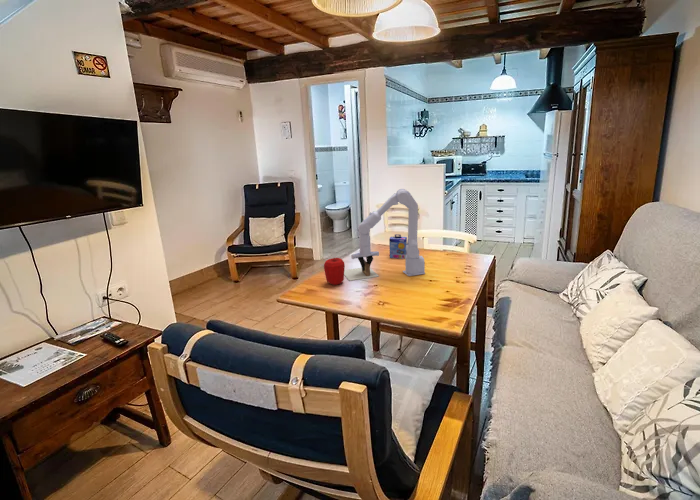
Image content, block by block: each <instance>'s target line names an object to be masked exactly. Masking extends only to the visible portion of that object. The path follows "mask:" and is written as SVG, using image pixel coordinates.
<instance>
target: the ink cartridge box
mask: <svg viewBox="0 0 700 500" xmlns="http://www.w3.org/2000/svg"><path fill="white" fill-rule="evenodd" d="M407 242H408V236H402V235H401V234H394V236H390V237H389V245H388V246H389V259H401V260H403V259H405V256H406V255H407V251H406V245H407Z"/></svg>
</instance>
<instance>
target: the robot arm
mask: <svg viewBox="0 0 700 500" xmlns="http://www.w3.org/2000/svg"><path fill="white" fill-rule="evenodd" d="M399 204H400V205H403V206H405V207H406V208H407V209H408V215H407V216H408V217H407V218H408V220H407V222H408V223H407V245H406V251H407V255H406V256H405V261H404V262H405V264H404V265H405V270H402V272H403V274H405V275H406V276H407V277H412V276H418V275H425V274H426V272H425V271H426V269H425V262H426V261H425V258H424V256H423V255H420V249H419V247H418V246H419V245H418V243H419V242H418V225H419V224H418V223H419V222H418V221H419V219H418V218H419V216H418V215H419V205H418V203H417V201H416V200H415V198H414V196H413V195H412V194H411V193H410V192H409V191H408V190H407V189H405V188H400V189H398V190H397V191H396V192H395V193H393V194H392V195H391V196H390V197H389V198H388V199H387V200H386V201H385V202H384V203H383V204H382V205H381V206H380V207H379V208H378V210H376V211H372V212H370V211H369V214H368V216H367V217H366V218H365V219H363V220H362V222H360V223H359V225H358V232H359V233H358V244H359V245H358V246H359V247H358V248H359V252H358V253H353V254H351V259H352V260H355V259H358V262H359V263H360V266H361V267H360V268H362V270H363V271H365V267H364V262H365V261H366V262H367V263H368V264H370V266H371V265H372V262H373V260H374V257H375V256H376V257H378V256H380V253H379V251H378V250H376V251H371V250H372V249H371V236H370V231H371V229H373V228H374V227H375V226H376V225H377V224H378V223H379V222H380V221H381V220H382V216H383V215H384V214H385V213H386V212H387V211H388V210H389V209H390V208H391V207H392V206H397V205H399Z"/></svg>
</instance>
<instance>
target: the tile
mask: <svg viewBox="0 0 700 500" xmlns="http://www.w3.org/2000/svg"><path fill="white" fill-rule="evenodd" d="M364 267H365V271H363V270H362V272H363V273H364V274H365V275H366V276H370V268H371V265H370V264H368V263H367V260H365V262H364Z"/></svg>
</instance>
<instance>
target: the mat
mask: <svg viewBox="0 0 700 500" xmlns="http://www.w3.org/2000/svg"><path fill="white" fill-rule="evenodd" d="M377 277H378V278H379V277H380V276H379V274H377V272H376V271H374V270H373V268H371V267H370V276H366V275H365V274H364V273H363V272H362V267H357V268H351V269H344V278H346V279H347V280H348V281H349V282H350V281H351V282H353V281H359V280H366V279H373V278H377Z"/></svg>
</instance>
